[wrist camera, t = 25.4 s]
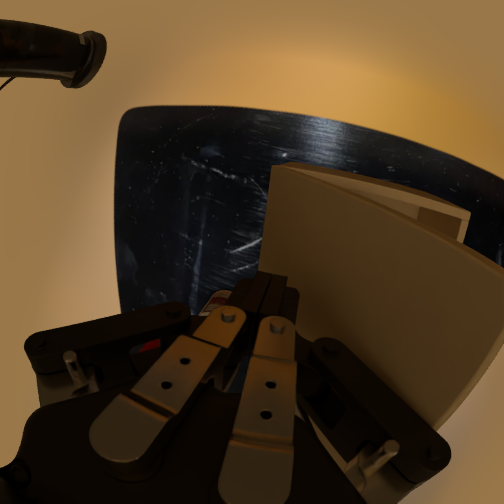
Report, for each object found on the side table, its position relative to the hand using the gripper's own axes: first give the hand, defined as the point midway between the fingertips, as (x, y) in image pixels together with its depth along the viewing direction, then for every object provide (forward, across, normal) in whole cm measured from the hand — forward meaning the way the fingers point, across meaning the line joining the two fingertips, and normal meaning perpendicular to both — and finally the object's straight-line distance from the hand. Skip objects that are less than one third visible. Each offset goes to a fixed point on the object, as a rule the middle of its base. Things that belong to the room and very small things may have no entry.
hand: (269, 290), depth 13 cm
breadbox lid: (0, -3, 0) cm, 3 cm away
